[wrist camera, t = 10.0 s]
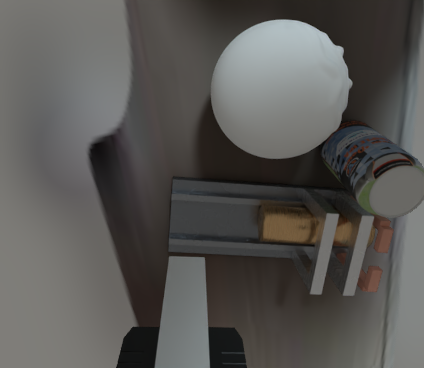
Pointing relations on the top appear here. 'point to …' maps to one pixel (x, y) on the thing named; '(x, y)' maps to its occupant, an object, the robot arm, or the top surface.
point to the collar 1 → (317, 243)
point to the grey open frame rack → (233, 216)
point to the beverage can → (374, 169)
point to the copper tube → (300, 226)
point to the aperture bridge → (382, 246)
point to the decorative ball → (280, 89)
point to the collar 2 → (350, 244)
